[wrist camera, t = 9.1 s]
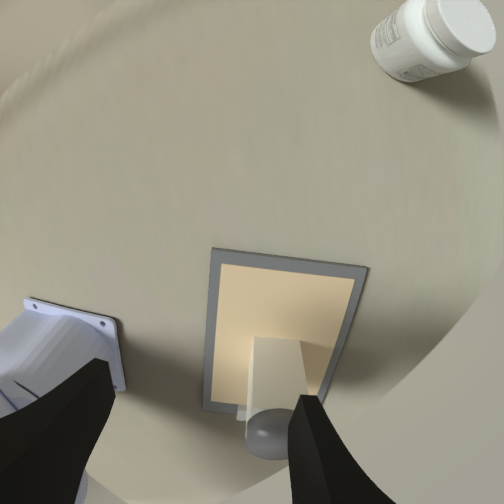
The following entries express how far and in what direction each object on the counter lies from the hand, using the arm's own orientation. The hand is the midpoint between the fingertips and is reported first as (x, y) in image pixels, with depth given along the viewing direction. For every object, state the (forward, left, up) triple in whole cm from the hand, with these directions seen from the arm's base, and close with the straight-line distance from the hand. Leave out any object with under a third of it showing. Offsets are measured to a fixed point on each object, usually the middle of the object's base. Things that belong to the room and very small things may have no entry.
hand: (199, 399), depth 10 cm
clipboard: (+4, -5, -10) cm, 12 cm away
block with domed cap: (+4, -5, -10) cm, 12 cm away
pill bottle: (+9, +17, -11) cm, 22 cm away
